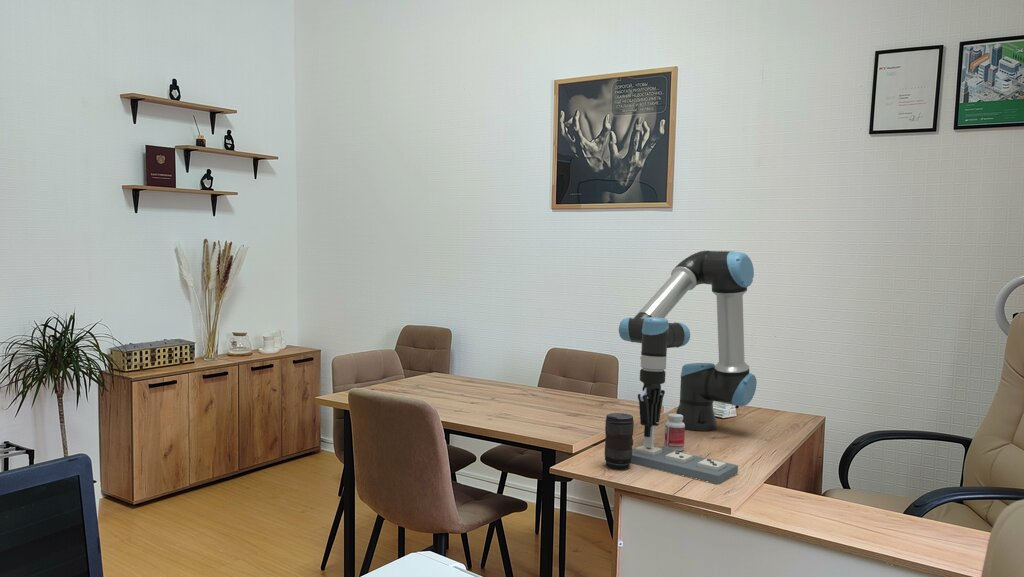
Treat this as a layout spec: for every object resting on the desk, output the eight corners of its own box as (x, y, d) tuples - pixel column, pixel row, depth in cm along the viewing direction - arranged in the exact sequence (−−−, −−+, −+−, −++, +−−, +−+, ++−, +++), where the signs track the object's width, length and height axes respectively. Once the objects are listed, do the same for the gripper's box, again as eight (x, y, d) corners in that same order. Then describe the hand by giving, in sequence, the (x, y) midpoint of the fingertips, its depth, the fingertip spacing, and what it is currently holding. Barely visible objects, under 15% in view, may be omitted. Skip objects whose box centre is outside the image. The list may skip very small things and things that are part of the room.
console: (644, 451, 227) (645, 444, 227) (737, 473, 208) (738, 465, 208) (621, 460, 216) (622, 452, 216) (717, 484, 197) (718, 475, 197)
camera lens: (614, 460, 216) (617, 411, 215) (637, 467, 210) (639, 416, 209) (597, 465, 210) (600, 414, 209) (620, 472, 205) (622, 420, 204)
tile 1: (644, 455, 223) (644, 443, 222) (661, 459, 219) (662, 447, 219) (634, 459, 218) (635, 447, 218) (652, 463, 214) (653, 451, 214)
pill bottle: (687, 450, 231) (689, 416, 230) (674, 452, 227) (676, 418, 227) (673, 445, 236) (675, 412, 235) (659, 447, 233) (661, 413, 232)
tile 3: (705, 470, 210) (706, 457, 210) (725, 474, 206) (726, 461, 206) (696, 474, 206) (697, 461, 205) (716, 479, 202) (717, 466, 202)
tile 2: (674, 462, 216) (674, 450, 216) (692, 467, 213) (693, 454, 212) (664, 466, 212) (665, 454, 212) (683, 471, 208) (684, 458, 208)
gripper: (652, 365, 224) (647, 440, 226) (631, 369, 214) (626, 448, 215) (674, 368, 220) (669, 445, 221) (653, 373, 210) (649, 453, 211)
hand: (648, 446), depth 218 cm, fingers closed
